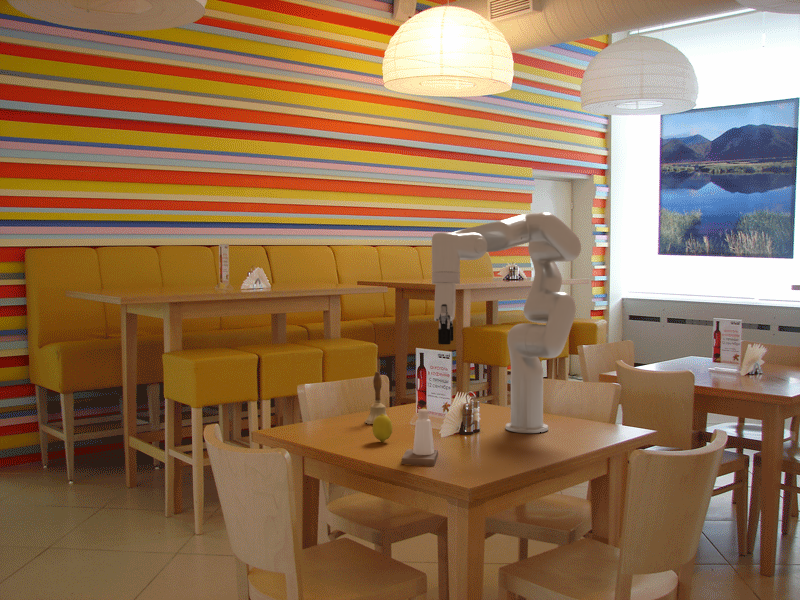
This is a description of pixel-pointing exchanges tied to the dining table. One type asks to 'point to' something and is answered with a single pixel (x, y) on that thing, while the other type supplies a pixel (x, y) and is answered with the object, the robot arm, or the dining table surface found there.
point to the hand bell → (376, 401)
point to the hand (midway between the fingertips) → (446, 342)
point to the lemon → (382, 427)
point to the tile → (419, 458)
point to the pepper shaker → (423, 434)
